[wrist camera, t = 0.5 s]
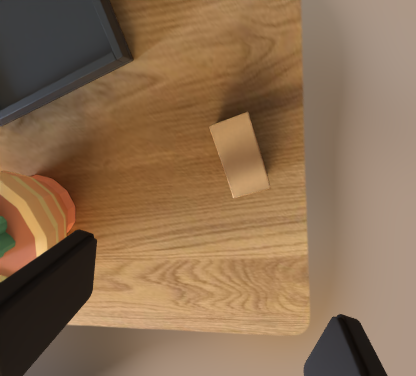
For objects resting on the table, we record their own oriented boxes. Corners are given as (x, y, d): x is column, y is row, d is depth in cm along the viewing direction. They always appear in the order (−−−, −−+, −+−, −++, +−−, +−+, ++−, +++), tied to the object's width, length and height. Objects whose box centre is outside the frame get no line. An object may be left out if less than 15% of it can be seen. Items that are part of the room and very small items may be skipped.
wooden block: (216, 123, 24) (208, 126, 20) (248, 111, 24) (247, 111, 19) (236, 184, 26) (233, 198, 22) (267, 175, 25) (270, 188, 21)
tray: (69, -100, 21) (50, -122, 19) (133, 60, 24) (123, 56, 22) (-67, 6, 26) (-93, -2, 24) (1, 126, 29) (-17, 127, 27)
